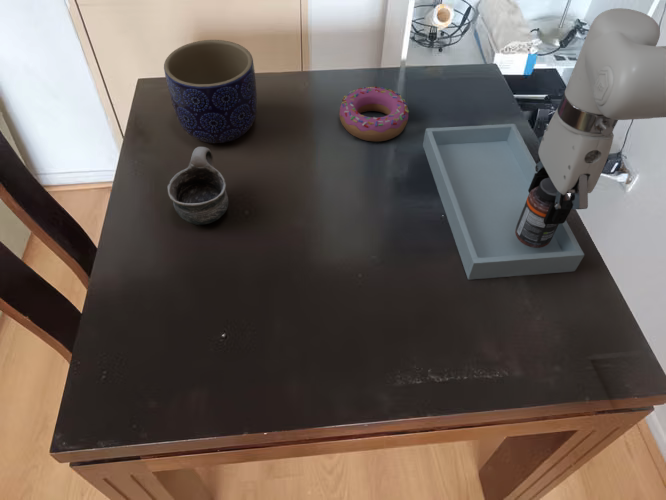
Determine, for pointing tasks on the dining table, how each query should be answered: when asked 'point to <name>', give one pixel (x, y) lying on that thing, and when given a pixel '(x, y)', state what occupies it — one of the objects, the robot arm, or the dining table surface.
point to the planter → (212, 89)
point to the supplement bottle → (537, 216)
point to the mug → (199, 190)
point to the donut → (374, 101)
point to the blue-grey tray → (492, 201)
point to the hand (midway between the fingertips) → (545, 206)
